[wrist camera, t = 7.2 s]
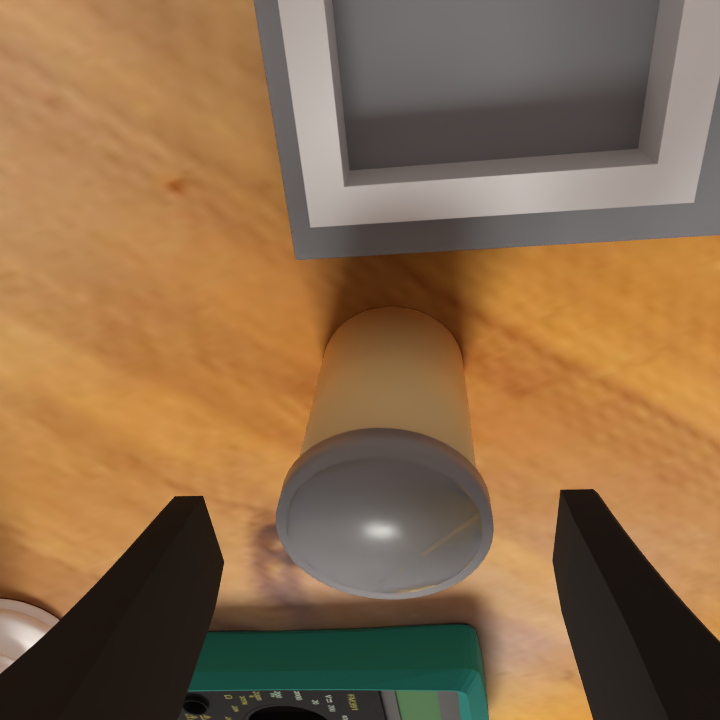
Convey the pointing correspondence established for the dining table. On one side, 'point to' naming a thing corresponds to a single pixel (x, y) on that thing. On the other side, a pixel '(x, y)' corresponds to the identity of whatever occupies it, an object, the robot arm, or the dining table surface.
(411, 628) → the digital multimeter
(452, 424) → the beige cylinder
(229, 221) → the dining table surface
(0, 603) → the chess piece
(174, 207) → the dining table surface
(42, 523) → the dining table surface
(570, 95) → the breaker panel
